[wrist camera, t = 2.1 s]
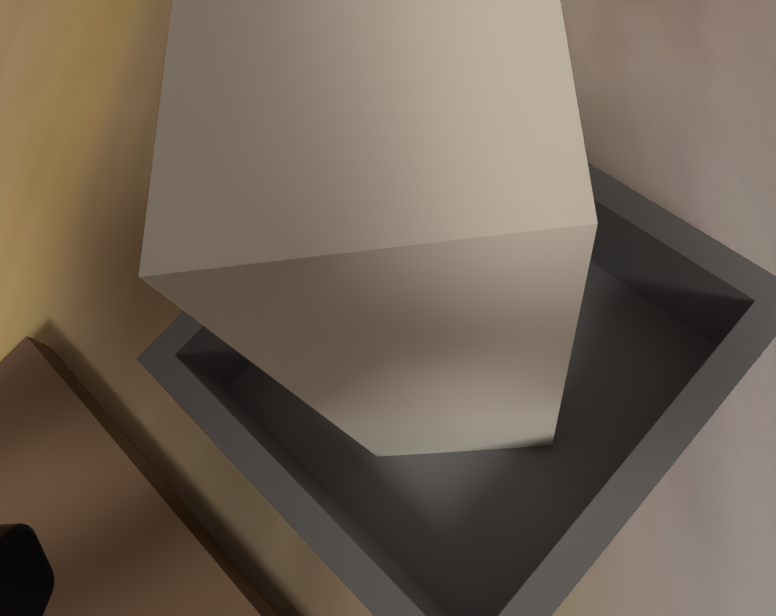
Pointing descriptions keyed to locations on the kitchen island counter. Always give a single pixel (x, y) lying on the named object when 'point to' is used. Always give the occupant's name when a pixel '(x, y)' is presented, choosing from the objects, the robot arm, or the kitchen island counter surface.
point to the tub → (512, 465)
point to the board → (103, 506)
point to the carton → (379, 208)
